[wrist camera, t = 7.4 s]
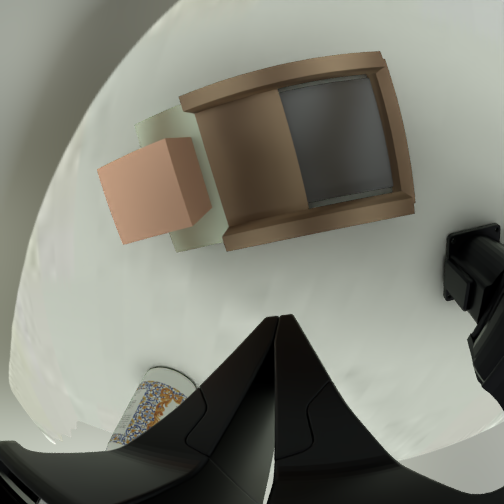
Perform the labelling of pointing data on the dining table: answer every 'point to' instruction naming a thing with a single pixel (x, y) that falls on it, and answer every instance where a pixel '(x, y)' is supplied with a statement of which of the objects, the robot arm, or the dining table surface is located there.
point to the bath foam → (151, 404)
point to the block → (155, 189)
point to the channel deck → (292, 150)
